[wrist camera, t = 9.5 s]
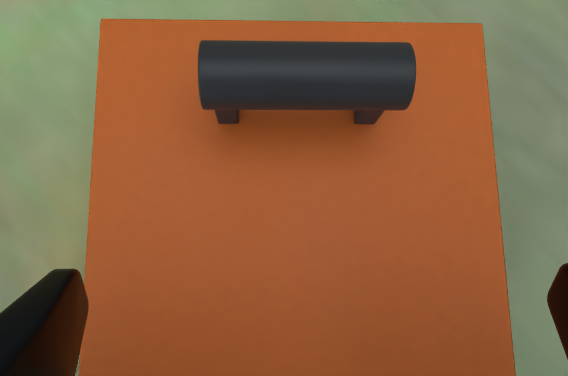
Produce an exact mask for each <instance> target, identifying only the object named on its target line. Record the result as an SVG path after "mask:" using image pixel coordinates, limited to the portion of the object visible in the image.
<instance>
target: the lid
mask: <svg viewBox="0 0 568 376" xmlns="http://www.w3.org/2000/svg"><path fill="white" fill-rule="evenodd" d="M84 287H85V291H86V294H87V297H88V302H89V310H88V316H87V321H86V325H85V330H84V335H83V339H82V344H81V349H80V363H79V376H516V375H515V364H514V354H513V343H512V333H511V322H510V312H509V301H508V291H507V280H506V270H505V259H504V249H503V238H502V228H501V217H500V207H499V196H498V186H497V175H496V165H495V154H494V143H493V133H492V122H491V112H490V101H489V91H488V80H487V70H486V59H485V49H484V38H483V28H482V24H481V23H401V22H321V21H241V20H161V19H101V24H100V41H99V57H98V73H97V89H96V105H95V121H94V137H93V154H92V170H91V186H90V202H89V218H88V234H87V250H86V267H85V283H84Z"/></svg>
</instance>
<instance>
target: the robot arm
mask: <svg viewBox="0 0 568 376" xmlns="http://www.w3.org/2000/svg"><path fill="white" fill-rule="evenodd" d="M547 302H548V306H549V309H550V312H551V315H552V318H553V320H554V323H555V326H556V329H557V331H558V334H559V337H560V340H561V342H562V345H563V348H564V351H565V353H566V356H567V359H568V263H566V264H564V265H562V266H561V267H560V269H559V271H558V273H557V275H556V277H555V279H554V281H553V283H552V285H551V287H550V289H549V292H548V296H547ZM88 310H89V302H88V297H87V294H86V291H85V287H84V284H83V281H82V277H81V274H80V272H79V271H78V270H76V269H55V270H53V271H51V272H50V273H48V274H47V275H46V276H45V277H44V278H42V279H41V280H40V281H39V282H38V283H36V284H35V285H34V286H33V287H31V288H30V289H29V290H28V291H27V292H25V293H24V294H23V295H22V296H21V297H19V298H18V299H17V300H16V301H15V302H13V303H12V304H11V305H10V306H8V307H7V308H6V309H5V310H4V311H2V312H1V313H0V376H75V373H76V368H77V363H78V358H79V354H80V349H81V344H82V339H83V335H84V330H85V325H86V321H87V316H88Z"/></svg>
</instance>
